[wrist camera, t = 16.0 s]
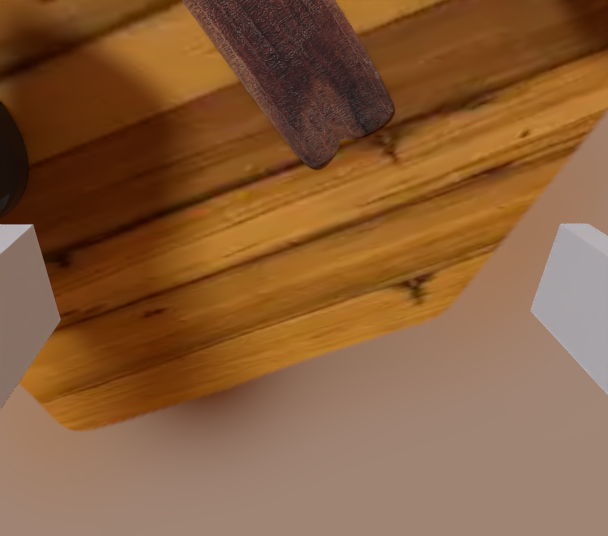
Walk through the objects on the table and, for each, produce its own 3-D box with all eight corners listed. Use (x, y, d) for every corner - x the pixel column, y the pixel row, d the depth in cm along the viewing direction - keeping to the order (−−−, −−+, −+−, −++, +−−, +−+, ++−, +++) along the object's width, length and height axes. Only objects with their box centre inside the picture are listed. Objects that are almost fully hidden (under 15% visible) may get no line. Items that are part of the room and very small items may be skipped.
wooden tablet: (88, -120, 30) (193, -247, 27) (101, -114, 32) (201, -232, 29) (310, 179, 42) (404, 116, 38) (311, 170, 44) (400, 110, 40)
